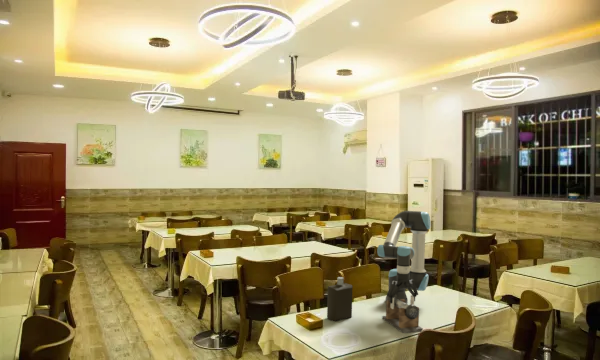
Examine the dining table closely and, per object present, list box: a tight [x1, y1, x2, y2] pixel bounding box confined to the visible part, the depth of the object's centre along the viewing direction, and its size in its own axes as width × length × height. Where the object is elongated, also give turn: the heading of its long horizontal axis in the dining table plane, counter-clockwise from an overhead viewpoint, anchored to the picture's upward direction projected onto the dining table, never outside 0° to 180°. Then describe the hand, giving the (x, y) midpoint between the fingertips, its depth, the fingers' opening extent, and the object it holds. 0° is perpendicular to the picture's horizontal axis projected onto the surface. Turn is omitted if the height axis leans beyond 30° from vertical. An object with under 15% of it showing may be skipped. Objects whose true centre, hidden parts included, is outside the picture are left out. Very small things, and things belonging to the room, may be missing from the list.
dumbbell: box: [387, 295, 420, 319], centre depth 253 cm, size 8×23×8 cm, turn 18°
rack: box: [381, 299, 424, 334], centre depth 253 cm, size 13×24×12 cm, turn 18°
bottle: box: [326, 276, 353, 322], centre depth 262 cm, size 8×16×25 cm, turn 127°
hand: (402, 307), depth 252 cm, fingers open, 13 cm apart
